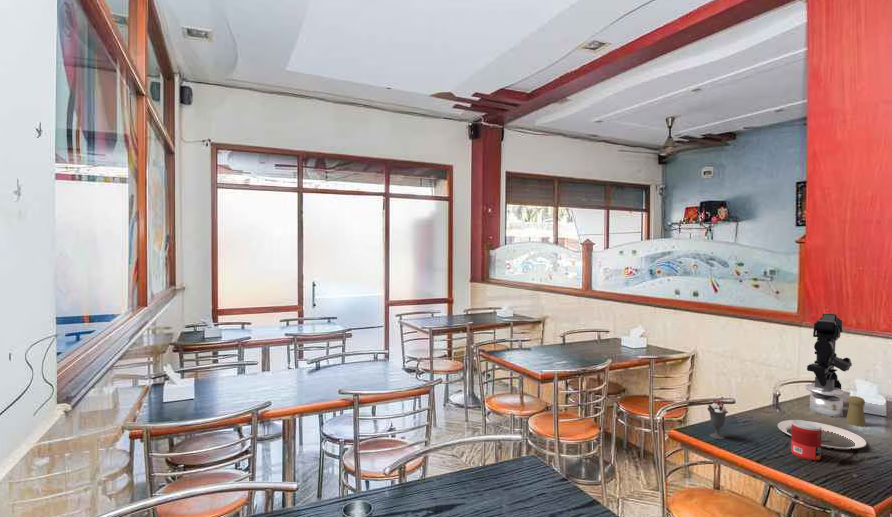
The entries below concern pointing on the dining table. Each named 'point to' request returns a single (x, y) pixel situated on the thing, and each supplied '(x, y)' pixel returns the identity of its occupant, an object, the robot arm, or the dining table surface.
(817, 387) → the cooker lid
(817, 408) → the cooker pot
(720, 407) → the sundae
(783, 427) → the plate
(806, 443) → the canned food
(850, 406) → the cork
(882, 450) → the dining table surface
